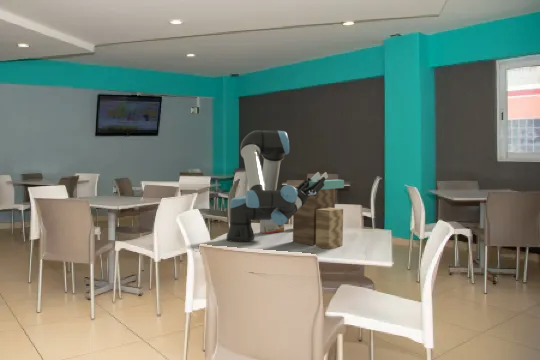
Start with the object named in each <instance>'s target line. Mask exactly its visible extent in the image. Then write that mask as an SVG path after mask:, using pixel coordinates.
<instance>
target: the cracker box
mask: <svg viewBox="0 0 540 360" xmlns="http://www.w3.org/2000/svg"><path fill="white" fill-rule="evenodd" d="M284 232H285V223H284V224H283V225H278V224H276V223H275V222H274V221H273V220H272V219H271V220H259V233H261V234H264V235H266V234H267V235H268V234H275V233H284Z"/></svg>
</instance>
